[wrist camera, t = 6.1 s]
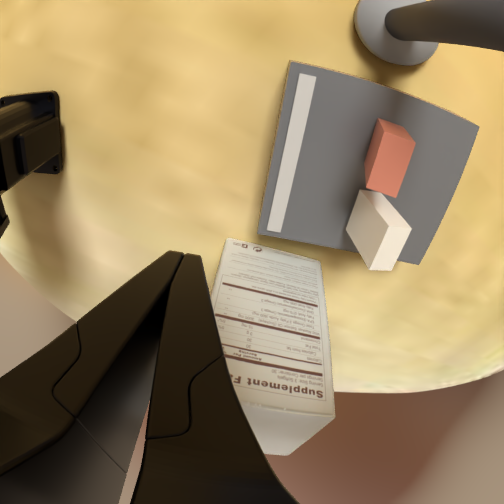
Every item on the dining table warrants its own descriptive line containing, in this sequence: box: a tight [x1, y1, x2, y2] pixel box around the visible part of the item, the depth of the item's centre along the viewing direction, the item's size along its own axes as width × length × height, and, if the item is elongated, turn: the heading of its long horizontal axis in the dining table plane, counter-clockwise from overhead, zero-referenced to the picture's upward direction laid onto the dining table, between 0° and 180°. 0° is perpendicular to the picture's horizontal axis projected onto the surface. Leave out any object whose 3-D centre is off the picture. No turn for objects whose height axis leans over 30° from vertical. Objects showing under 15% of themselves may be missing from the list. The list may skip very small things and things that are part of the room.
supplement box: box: [210, 238, 335, 455], centre depth 20 cm, size 7×7×13 cm
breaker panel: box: [257, 60, 479, 265], centre depth 17 cm, size 11×10×3 cm
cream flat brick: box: [346, 189, 412, 271], centre depth 15 cm, size 1×3×4 cm, turn 172°
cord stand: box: [354, 0, 504, 66], centre depth 8 cm, size 5×5×12 cm
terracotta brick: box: [364, 118, 416, 198], centre depth 13 cm, size 1×3×4 cm, turn 171°
